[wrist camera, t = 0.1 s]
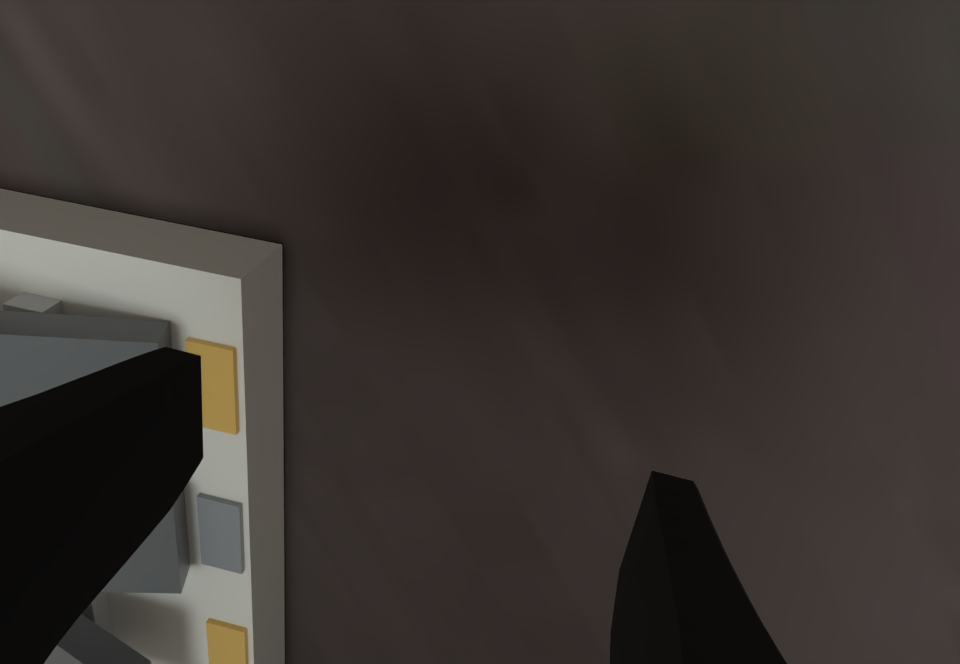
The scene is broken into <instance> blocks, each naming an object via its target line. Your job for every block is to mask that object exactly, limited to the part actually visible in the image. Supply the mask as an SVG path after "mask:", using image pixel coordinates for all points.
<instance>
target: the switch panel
mask: <svg viewBox="0 0 960 664" xmlns="http://www.w3.org/2000/svg"><path fill="white" fill-rule="evenodd" d="M0 311H12V312H29V313H46V314H63V315H79V316H96V317H113V318H130V319H146V320H163V321H170V329H171V341H172V348H173V349H177V350H181V351H184V352H188V353H192V354H196V355H200V356H201V380H202V421H203V459H202V461H201V463H200V464H199V466H198V467H197V469H196V471H195V472H194V474H193V476H192V477H191V479H190V480H189V482H188V484H187V485H186V487H185V488H184V495H185V507H186V519H187V531H188V543H189V555H190V568H189V571H188V574H187V577H186V580H185V584H184V587H183V590H182V593H181V594H174V593H119V592H100V593H99V594H98V596H97V597H96V598H95V599H94V600H93V601H92V603H91V604H90V605H89V606H88V607H87V608H86V610H85V611H84V612H83V613H82V615H84V616H85V617H87V618H88V619H90V620H91V621H93V622H94V623H96V624H97V625H99V626H100V627H101V628H103V629H104V630H106V631H107V632H109V633H110V634H112V635H113V636H115V637H116V638H118V639H119V640H121V641H122V642H124V643H125V644H126V645H128V646H129V647H131V648H132V649H134V650H135V651H137V652H138V653H140V654H141V655H143V656H144V657H146V658H147V659H149V660H150V661H151V664H285V600H284V436H283V271H282V244H277V243H272V242H267V241H262V240H257V239H252V238H247V237H242V236H237V235H232V234H227V233H222V232H217V231H212V230H207V229H202V228H197V227H192V226H187V225H182V224H177V223H172V222H166V221H161V220H156V219H151V218H146V217H141V216H136V215H131V214H126V213H121V212H116V211H111V210H106V209H101V208H96V207H91V206H86V205H81V204H76V203H71V202H66V201H61V200H56V199H51V198H46V197H41V196H36V195H31V194H26V193H21V192H16V191H11V190H6V189H1V188H0Z"/></svg>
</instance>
